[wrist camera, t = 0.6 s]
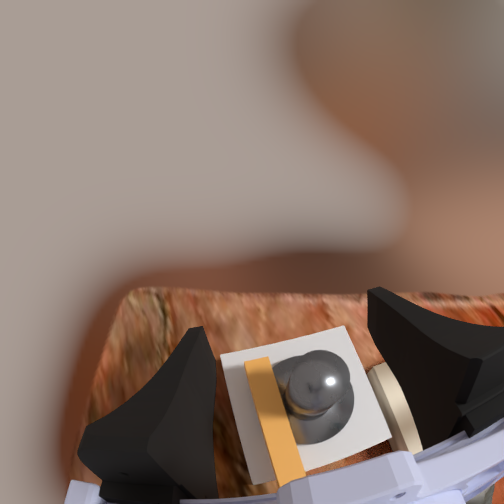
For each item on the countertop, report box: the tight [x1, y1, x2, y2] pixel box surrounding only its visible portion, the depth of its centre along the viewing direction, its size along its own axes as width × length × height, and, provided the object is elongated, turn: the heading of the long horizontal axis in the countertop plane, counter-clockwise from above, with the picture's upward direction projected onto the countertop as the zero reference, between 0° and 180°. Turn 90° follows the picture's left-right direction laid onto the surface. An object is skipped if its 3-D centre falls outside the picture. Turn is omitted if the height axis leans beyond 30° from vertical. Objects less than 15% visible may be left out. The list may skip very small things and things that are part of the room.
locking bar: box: [244, 356, 306, 488], centre depth 19 cm, size 15×2×1 cm, turn 14°
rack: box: [366, 362, 423, 455], centre depth 22 cm, size 14×10×3 cm
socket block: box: [220, 326, 392, 485], centre depth 24 cm, size 12×12×3 cm
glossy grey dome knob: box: [272, 350, 354, 445], centre depth 22 cm, size 8×8×9 cm
